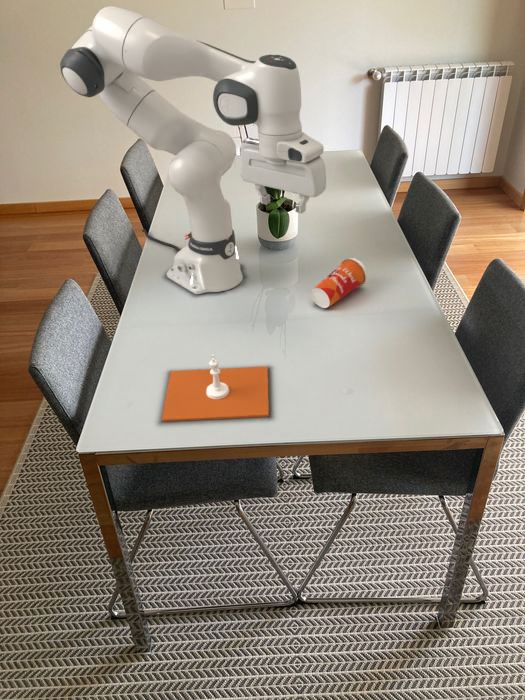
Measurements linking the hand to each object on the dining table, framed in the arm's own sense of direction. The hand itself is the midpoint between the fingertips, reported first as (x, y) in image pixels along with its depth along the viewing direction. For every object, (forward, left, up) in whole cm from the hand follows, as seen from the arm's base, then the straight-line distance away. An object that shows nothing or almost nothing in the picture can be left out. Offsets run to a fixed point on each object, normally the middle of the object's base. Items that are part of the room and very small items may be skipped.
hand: (282, 207), depth 131 cm
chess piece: (+3, -29, -31) cm, 43 cm away
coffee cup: (+3, +11, -28) cm, 30 cm away
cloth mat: (+3, -29, -31) cm, 43 cm away
